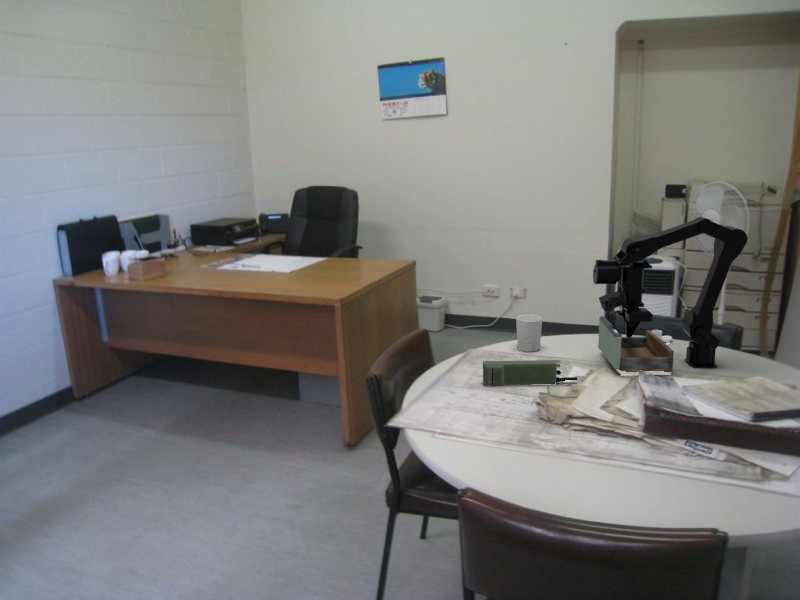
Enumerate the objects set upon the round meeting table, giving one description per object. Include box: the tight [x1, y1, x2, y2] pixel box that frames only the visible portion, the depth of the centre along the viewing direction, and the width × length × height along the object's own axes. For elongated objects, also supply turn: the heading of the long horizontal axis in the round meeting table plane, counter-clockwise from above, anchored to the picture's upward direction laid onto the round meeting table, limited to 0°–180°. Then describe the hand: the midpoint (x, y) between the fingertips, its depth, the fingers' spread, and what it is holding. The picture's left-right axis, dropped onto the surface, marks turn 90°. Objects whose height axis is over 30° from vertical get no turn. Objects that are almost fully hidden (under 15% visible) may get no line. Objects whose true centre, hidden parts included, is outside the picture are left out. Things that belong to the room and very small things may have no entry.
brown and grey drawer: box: [603, 329, 675, 373], centre depth 178 cm, size 14×19×7 cm
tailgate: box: [597, 315, 623, 369], centre depth 177 cm, size 2×18×10 cm, turn 177°
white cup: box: [515, 314, 543, 353], centre depth 193 cm, size 8×8×10 cm
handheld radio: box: [482, 359, 578, 386], centre depth 167 cm, size 7×3×25 cm
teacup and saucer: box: [651, 329, 673, 346], centre depth 196 cm, size 9×8×4 cm
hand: (628, 337), depth 177 cm, fingers closed
